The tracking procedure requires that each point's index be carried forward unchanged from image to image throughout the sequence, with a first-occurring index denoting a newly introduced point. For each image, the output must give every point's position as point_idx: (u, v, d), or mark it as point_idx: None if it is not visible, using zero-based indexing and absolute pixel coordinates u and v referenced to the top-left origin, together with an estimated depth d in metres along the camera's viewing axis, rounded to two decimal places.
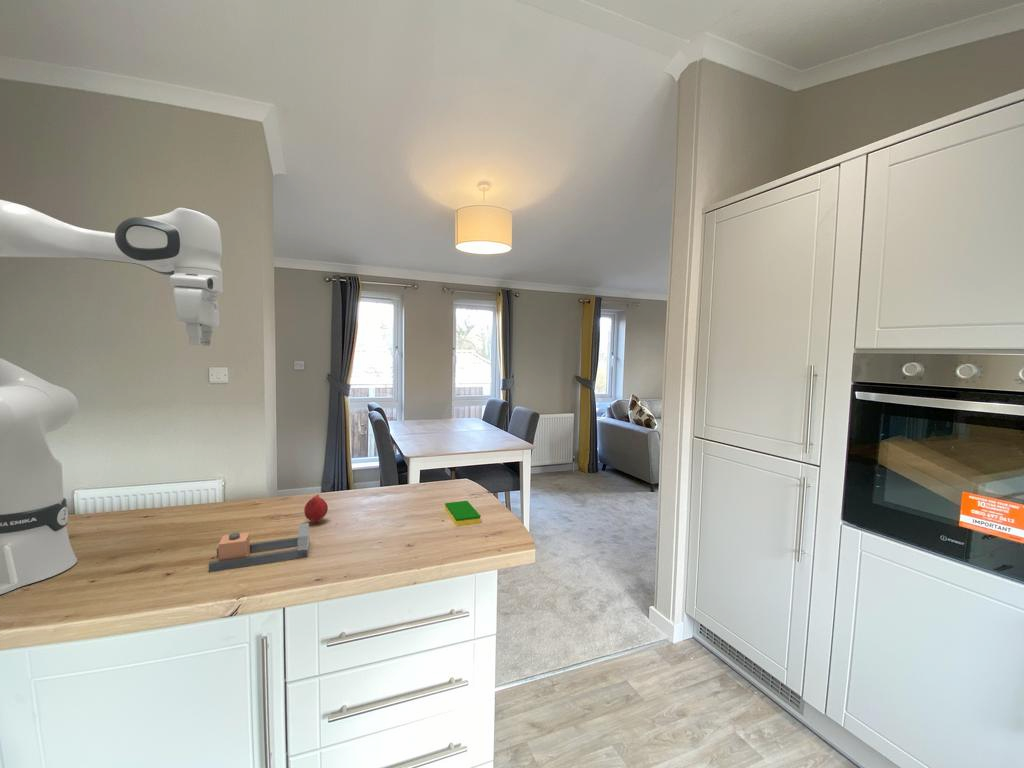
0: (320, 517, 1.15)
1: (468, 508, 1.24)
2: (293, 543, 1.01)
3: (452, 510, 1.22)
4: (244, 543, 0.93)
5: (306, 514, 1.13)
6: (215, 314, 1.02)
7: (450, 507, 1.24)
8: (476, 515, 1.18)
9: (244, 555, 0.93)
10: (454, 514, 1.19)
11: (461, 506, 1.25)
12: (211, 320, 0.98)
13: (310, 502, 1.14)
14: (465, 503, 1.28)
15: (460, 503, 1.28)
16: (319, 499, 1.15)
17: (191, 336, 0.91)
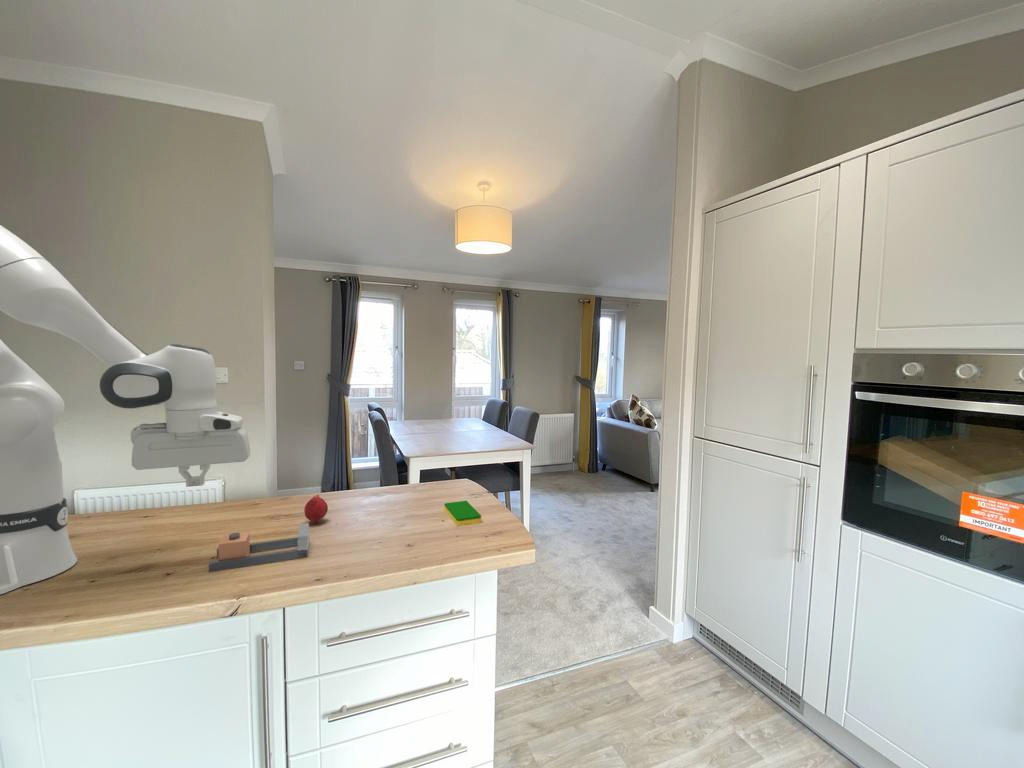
0: (320, 517, 1.15)
1: (468, 508, 1.24)
2: (293, 543, 1.01)
3: (453, 510, 1.22)
4: (244, 543, 0.93)
5: (306, 514, 1.13)
6: None
7: (450, 507, 1.24)
8: (477, 515, 1.19)
9: (244, 555, 0.93)
10: (455, 514, 1.19)
11: (460, 506, 1.25)
12: None
13: (310, 502, 1.14)
14: (464, 503, 1.28)
15: (459, 503, 1.28)
16: (319, 499, 1.15)
17: (203, 476, 0.91)
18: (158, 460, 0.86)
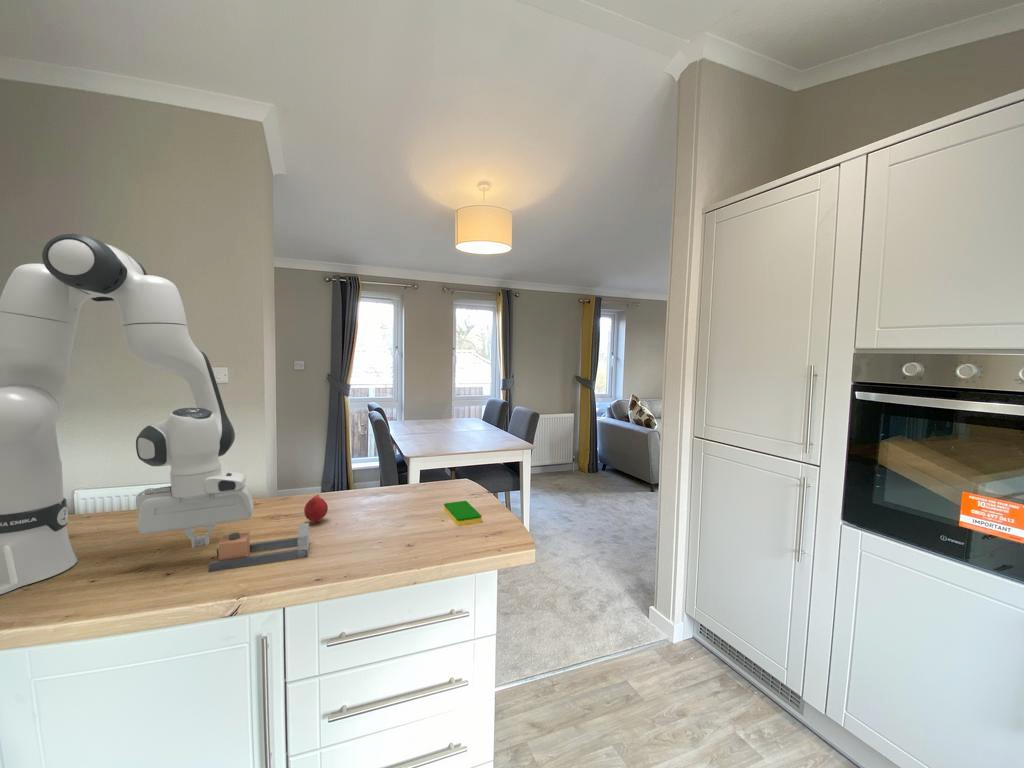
0: (320, 517, 1.15)
1: (468, 508, 1.24)
2: (293, 543, 1.01)
3: (453, 510, 1.22)
4: (244, 543, 0.93)
5: (306, 514, 1.13)
6: None
7: (450, 507, 1.24)
8: (477, 515, 1.19)
9: (244, 555, 0.93)
10: (455, 514, 1.19)
11: (460, 506, 1.25)
12: None
13: (310, 502, 1.14)
14: (464, 503, 1.28)
15: (459, 503, 1.28)
16: (319, 499, 1.15)
17: (208, 536, 0.93)
18: (164, 524, 0.88)
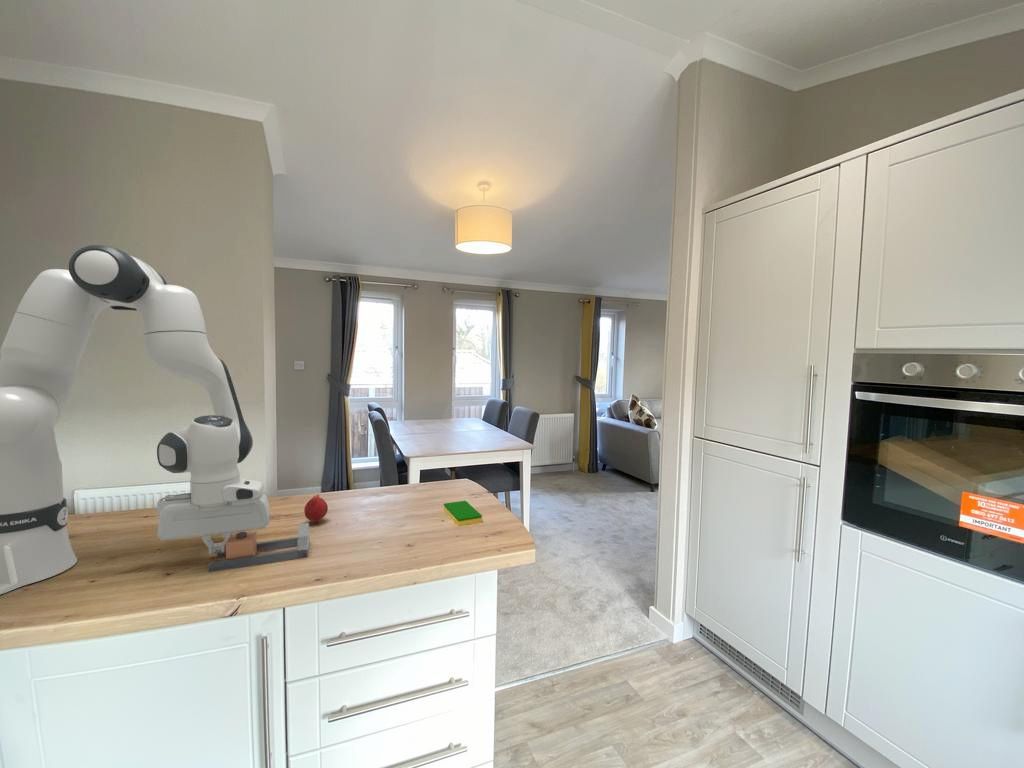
0: (320, 517, 1.15)
1: (468, 508, 1.24)
2: (293, 543, 1.01)
3: (453, 510, 1.22)
4: (251, 542, 0.93)
5: (306, 514, 1.13)
6: None
7: (450, 507, 1.24)
8: (477, 515, 1.19)
9: (251, 554, 0.93)
10: (455, 514, 1.19)
11: (460, 506, 1.25)
12: None
13: (310, 502, 1.14)
14: (464, 503, 1.28)
15: (459, 503, 1.28)
16: (319, 499, 1.15)
17: (225, 543, 0.93)
18: (183, 530, 0.88)
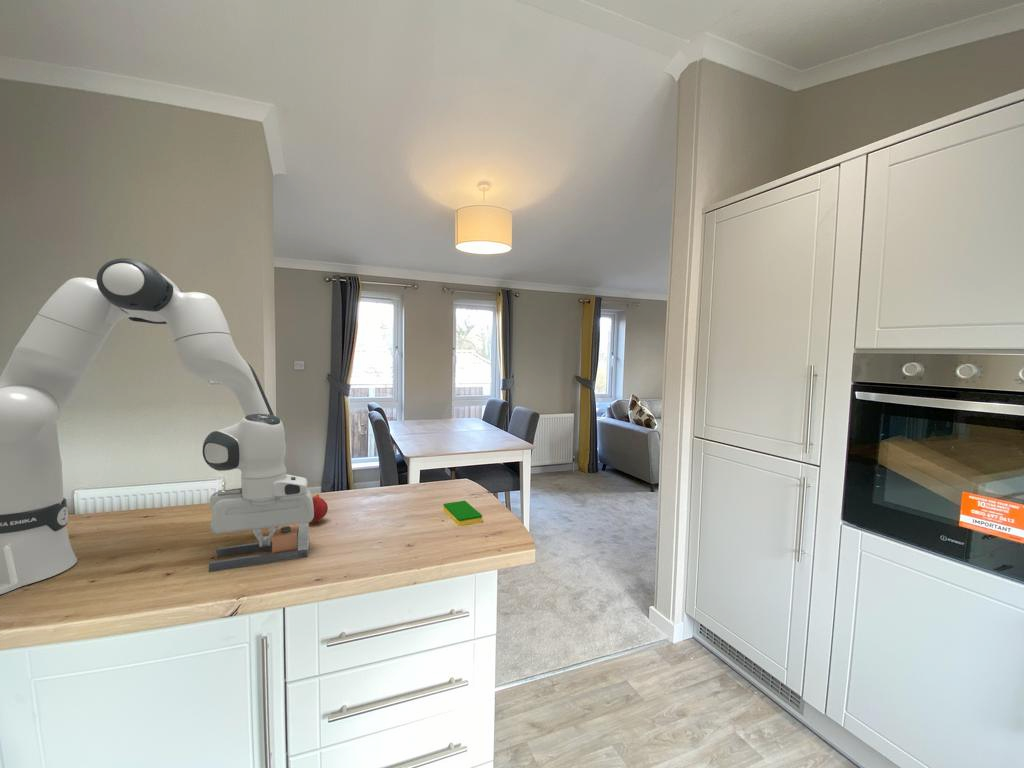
0: (320, 517, 1.15)
1: (468, 508, 1.24)
2: None
3: (453, 510, 1.22)
4: (296, 536, 0.97)
5: None
6: None
7: (450, 507, 1.24)
8: (478, 514, 1.19)
9: (295, 548, 0.97)
10: (455, 514, 1.19)
11: (460, 506, 1.25)
12: None
13: None
14: (463, 503, 1.28)
15: (459, 503, 1.28)
16: (319, 499, 1.15)
17: (271, 537, 0.96)
18: (234, 524, 0.92)
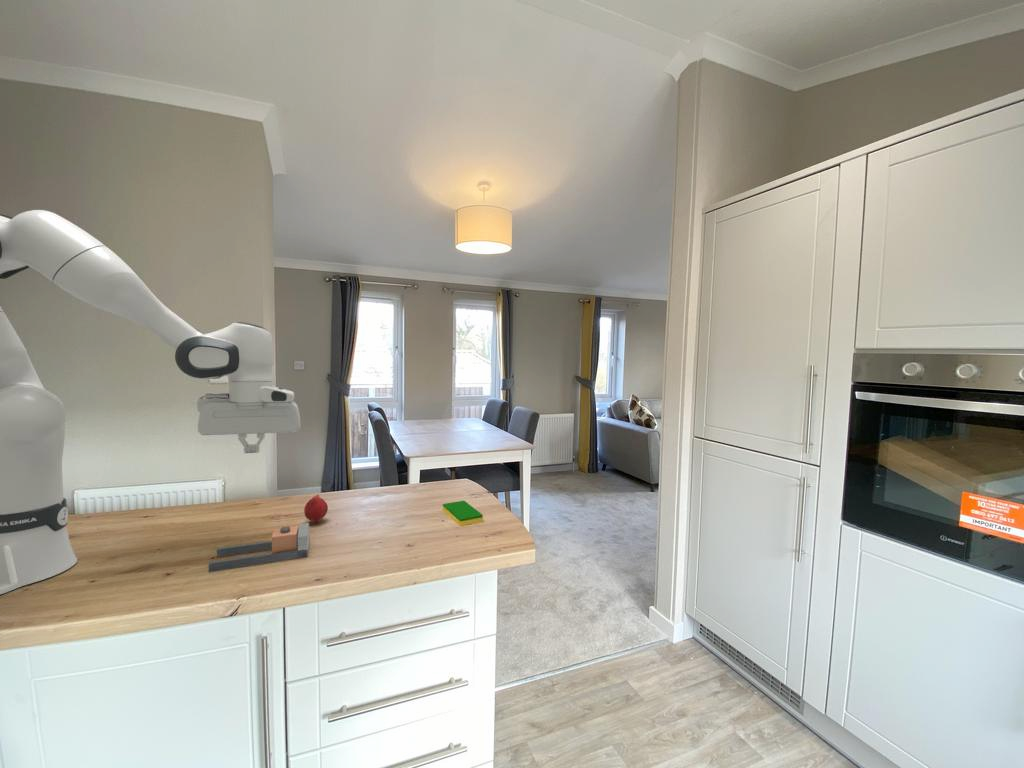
0: (320, 517, 1.15)
1: (468, 508, 1.24)
2: None
3: (453, 510, 1.22)
4: (295, 536, 0.97)
5: (306, 514, 1.13)
6: None
7: (449, 508, 1.24)
8: (478, 514, 1.19)
9: (295, 548, 0.97)
10: (456, 514, 1.19)
11: (460, 506, 1.25)
12: None
13: (310, 502, 1.14)
14: (463, 503, 1.28)
15: (458, 503, 1.28)
16: (319, 499, 1.15)
17: (259, 444, 0.99)
18: (221, 427, 0.94)
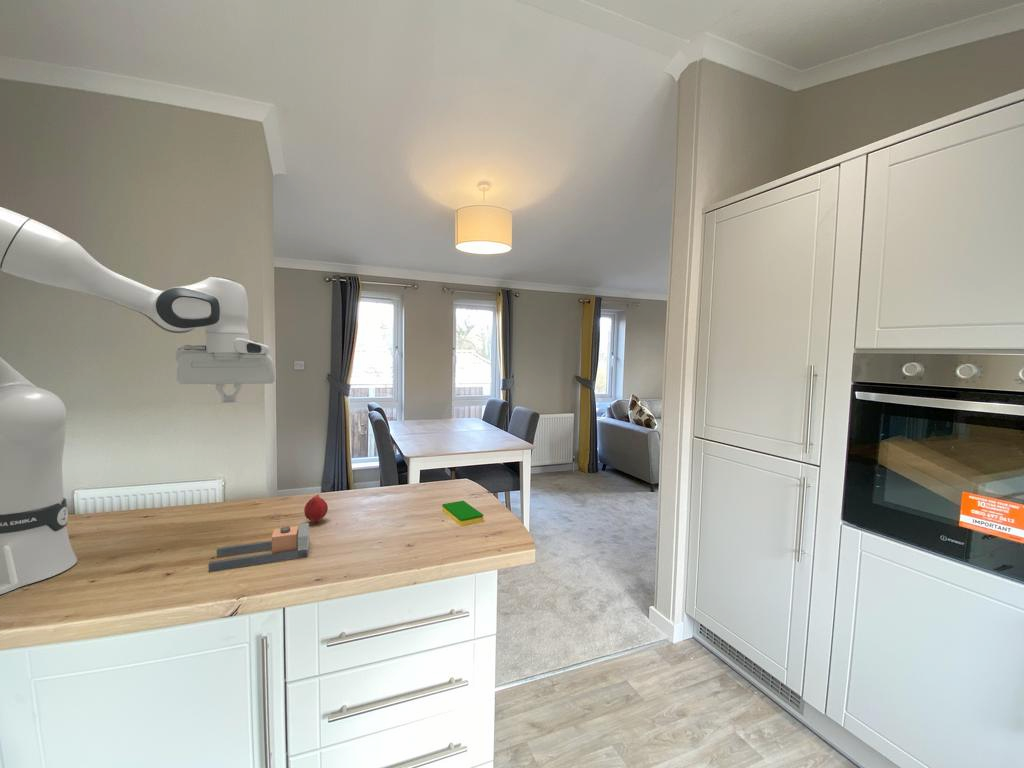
0: (320, 517, 1.15)
1: (468, 508, 1.24)
2: None
3: (453, 510, 1.22)
4: (295, 536, 0.97)
5: (306, 514, 1.13)
6: None
7: (449, 508, 1.24)
8: (479, 514, 1.19)
9: (295, 548, 0.97)
10: (456, 514, 1.19)
11: (460, 506, 1.25)
12: None
13: (310, 502, 1.14)
14: (462, 503, 1.28)
15: (457, 503, 1.28)
16: (319, 499, 1.15)
17: (236, 395, 1.04)
18: (199, 376, 0.99)
